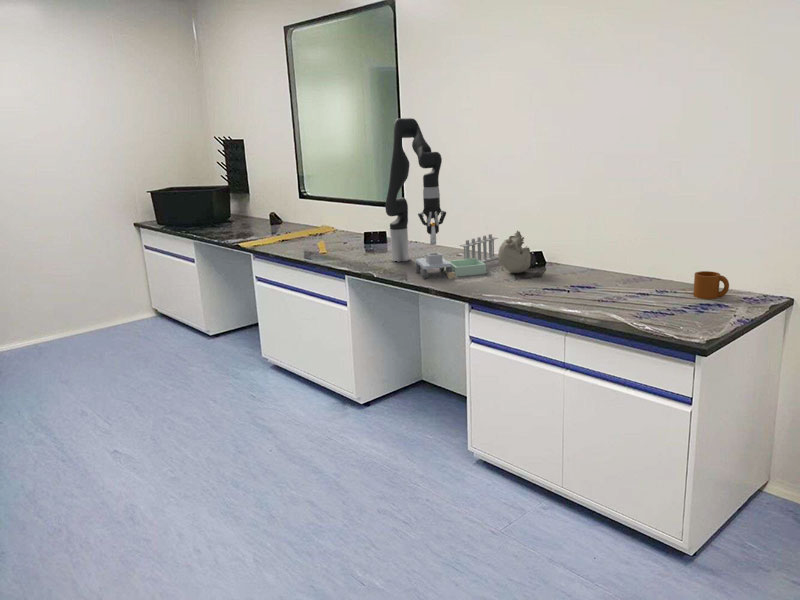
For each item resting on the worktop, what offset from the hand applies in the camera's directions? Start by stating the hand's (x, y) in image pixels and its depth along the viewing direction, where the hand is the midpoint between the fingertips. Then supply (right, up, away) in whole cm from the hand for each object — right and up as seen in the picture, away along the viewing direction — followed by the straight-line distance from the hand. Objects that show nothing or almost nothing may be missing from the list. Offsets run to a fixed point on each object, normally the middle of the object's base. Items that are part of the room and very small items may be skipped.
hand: (432, 233), depth 292 cm
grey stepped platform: (+1, -19, +8) cm, 20 cm away
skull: (+39, -19, +2) cm, 43 cm away
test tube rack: (+25, -12, +27) cm, 39 cm away
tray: (+17, -18, +10) cm, 26 cm away
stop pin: (0, -5, +1) cm, 5 cm away
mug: (+104, -30, -51) cm, 120 cm away
